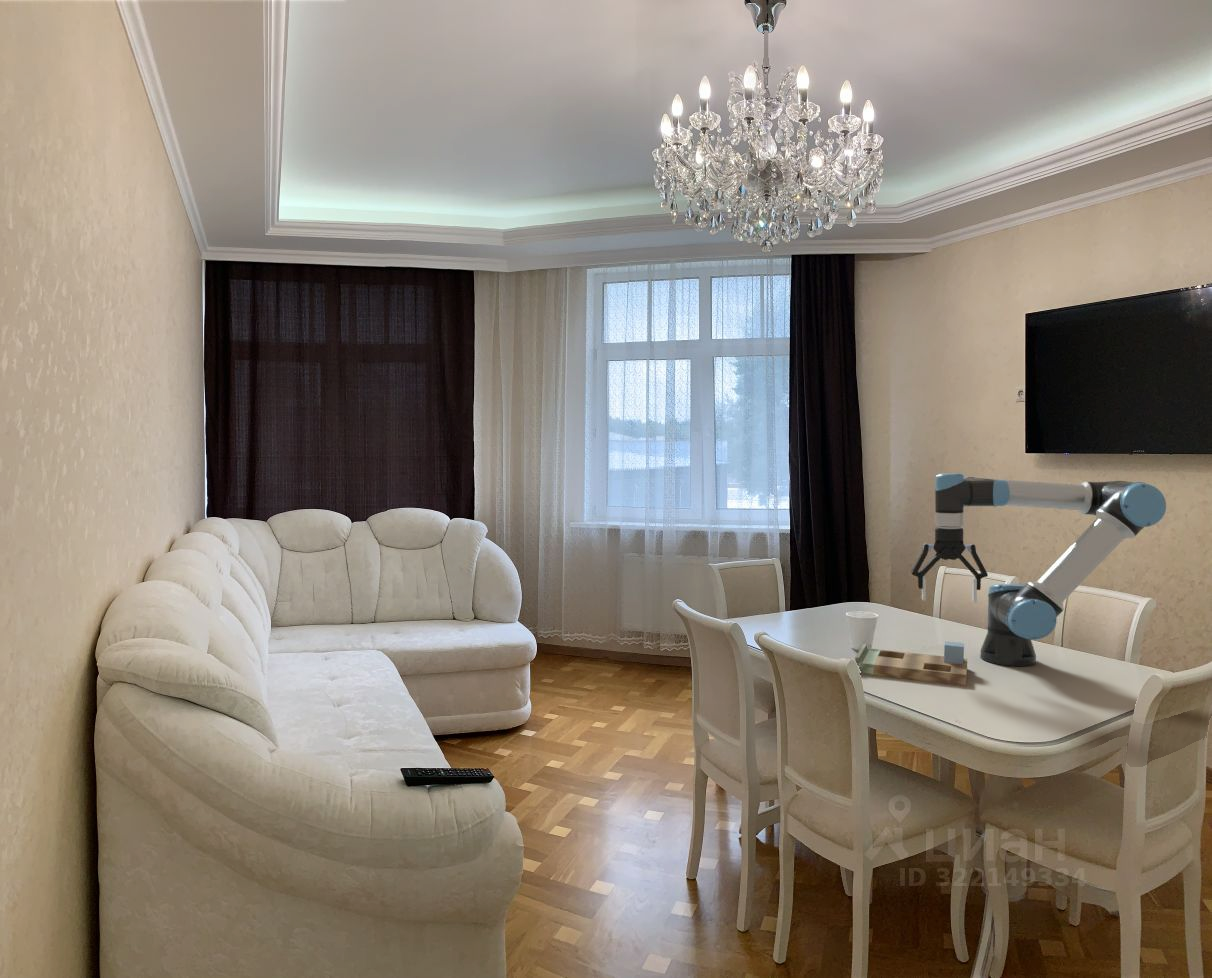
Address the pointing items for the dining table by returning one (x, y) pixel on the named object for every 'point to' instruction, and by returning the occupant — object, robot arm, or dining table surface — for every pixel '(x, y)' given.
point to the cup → (861, 628)
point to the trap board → (910, 666)
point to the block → (953, 652)
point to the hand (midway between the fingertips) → (948, 600)
